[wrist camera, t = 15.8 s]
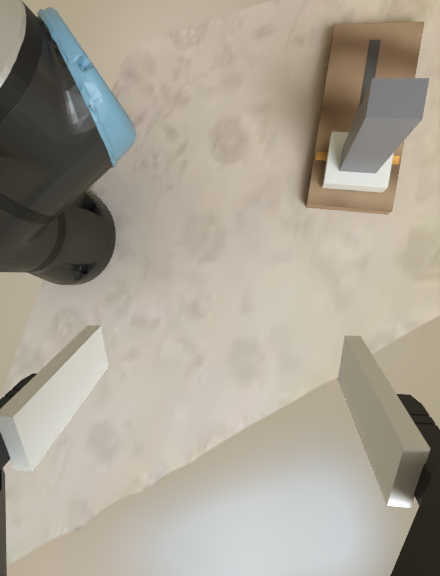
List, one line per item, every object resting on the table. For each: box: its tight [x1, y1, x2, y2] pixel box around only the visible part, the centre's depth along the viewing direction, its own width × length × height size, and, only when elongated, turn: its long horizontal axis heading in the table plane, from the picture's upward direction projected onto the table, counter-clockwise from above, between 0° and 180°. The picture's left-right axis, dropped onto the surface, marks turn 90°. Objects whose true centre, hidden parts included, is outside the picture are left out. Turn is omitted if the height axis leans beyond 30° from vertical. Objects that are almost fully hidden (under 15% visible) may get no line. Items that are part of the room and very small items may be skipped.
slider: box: [322, 78, 429, 193], centre depth 30 cm, size 6×7×14 cm
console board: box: [306, 22, 424, 214], centre depth 38 cm, size 22×10×2 cm, turn 172°
